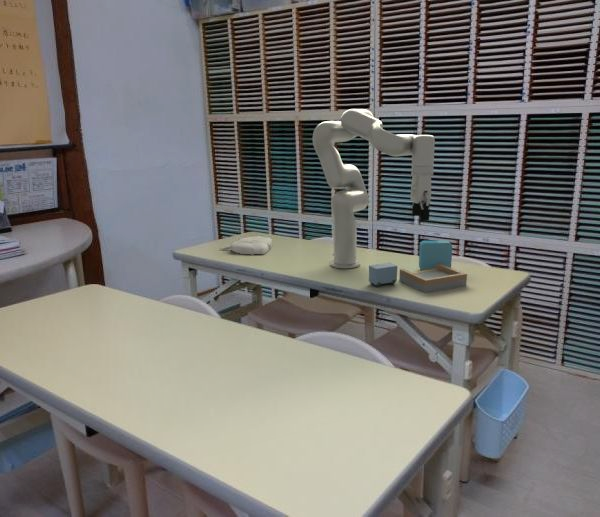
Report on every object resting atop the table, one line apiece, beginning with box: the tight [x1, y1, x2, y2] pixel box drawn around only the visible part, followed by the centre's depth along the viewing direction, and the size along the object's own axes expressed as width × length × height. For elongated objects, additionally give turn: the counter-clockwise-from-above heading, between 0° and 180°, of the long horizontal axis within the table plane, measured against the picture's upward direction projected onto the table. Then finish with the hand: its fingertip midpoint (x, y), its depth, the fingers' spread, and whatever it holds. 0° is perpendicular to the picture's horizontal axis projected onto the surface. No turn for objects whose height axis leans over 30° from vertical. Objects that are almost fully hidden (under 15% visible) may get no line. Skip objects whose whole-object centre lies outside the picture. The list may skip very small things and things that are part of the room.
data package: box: [418, 240, 453, 271], centre depth 199 cm, size 12×4×12 cm, turn 85°
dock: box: [399, 263, 468, 294], centre depth 184 cm, size 16×18×4 cm
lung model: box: [219, 235, 273, 256], centre depth 240 cm, size 7×17×25 cm
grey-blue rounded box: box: [368, 262, 398, 288], centre depth 184 cm, size 6×9×7 cm, turn 113°
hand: (420, 217), depth 182 cm, fingers open, 9 cm apart
